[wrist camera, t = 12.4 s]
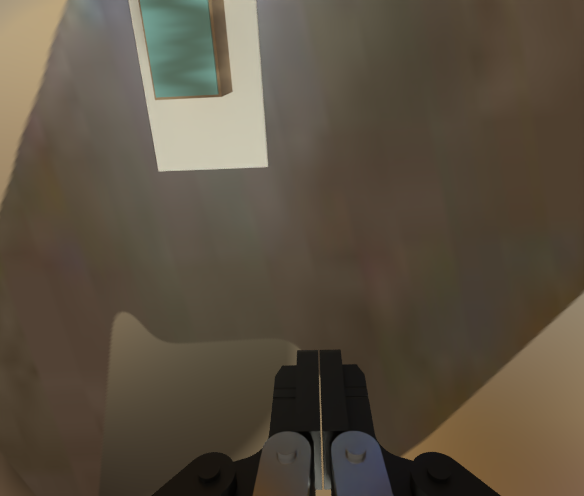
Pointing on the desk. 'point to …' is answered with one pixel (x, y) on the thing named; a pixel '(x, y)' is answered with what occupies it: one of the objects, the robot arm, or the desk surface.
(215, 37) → the teal and brown block
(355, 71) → the desk surface
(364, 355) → the desk surface
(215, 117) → the cream board
